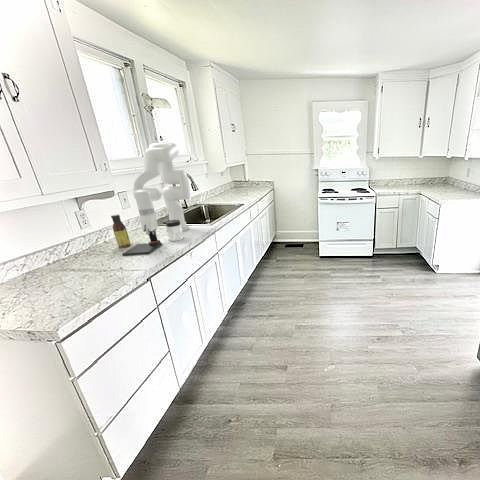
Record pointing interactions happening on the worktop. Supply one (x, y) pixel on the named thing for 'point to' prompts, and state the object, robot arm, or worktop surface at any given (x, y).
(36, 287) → the worktop surface
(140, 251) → the scale
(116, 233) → the sauce bottle
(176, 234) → the jar
